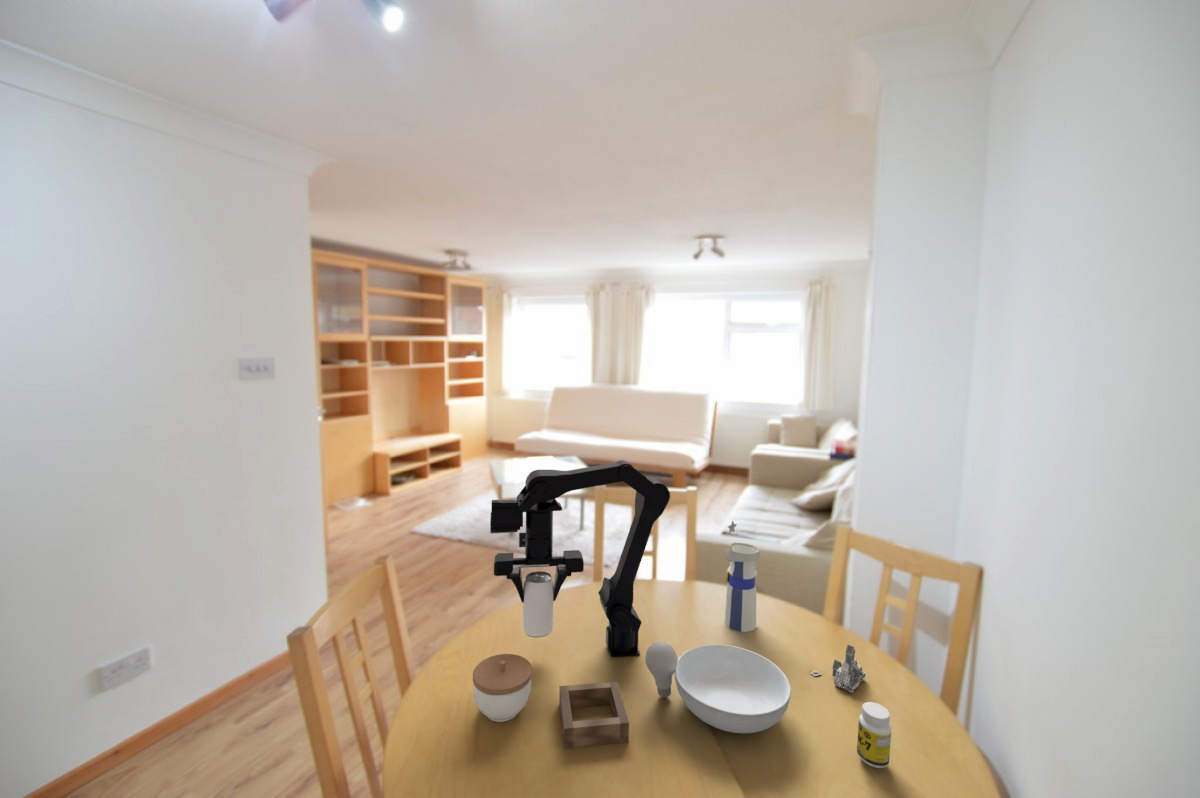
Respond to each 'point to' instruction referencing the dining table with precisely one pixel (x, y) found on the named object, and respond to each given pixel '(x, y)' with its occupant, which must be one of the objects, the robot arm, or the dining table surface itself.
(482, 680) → the lidded jar
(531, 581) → the can
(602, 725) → the sleeve block
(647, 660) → the lightbulb
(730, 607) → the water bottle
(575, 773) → the dining table surface
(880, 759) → the supplement bottle
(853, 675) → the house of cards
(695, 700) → the serving bowl
